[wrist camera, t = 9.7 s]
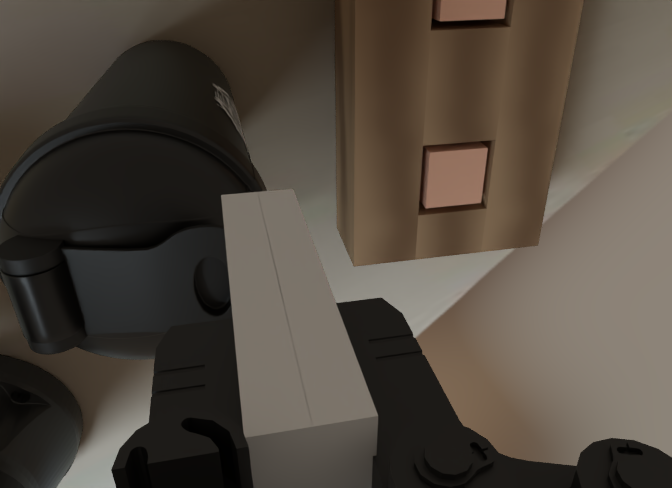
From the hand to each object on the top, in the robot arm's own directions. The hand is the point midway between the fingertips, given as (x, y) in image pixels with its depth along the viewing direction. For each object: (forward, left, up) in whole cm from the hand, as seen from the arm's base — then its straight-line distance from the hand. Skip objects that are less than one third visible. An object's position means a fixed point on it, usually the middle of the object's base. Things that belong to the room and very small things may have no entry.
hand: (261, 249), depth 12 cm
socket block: (+14, -3, -29) cm, 32 cm away
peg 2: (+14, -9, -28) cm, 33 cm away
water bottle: (-4, -5, -29) cm, 29 cm away
